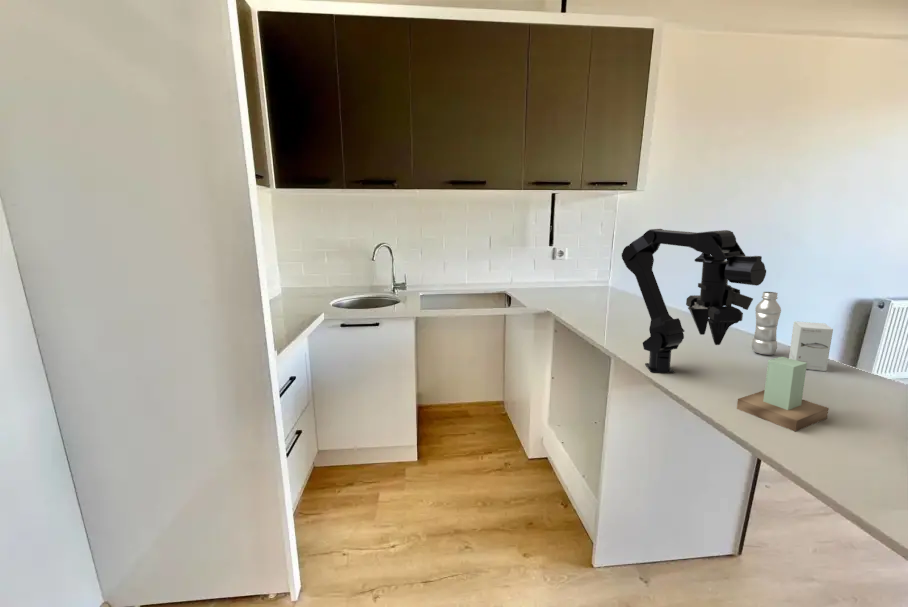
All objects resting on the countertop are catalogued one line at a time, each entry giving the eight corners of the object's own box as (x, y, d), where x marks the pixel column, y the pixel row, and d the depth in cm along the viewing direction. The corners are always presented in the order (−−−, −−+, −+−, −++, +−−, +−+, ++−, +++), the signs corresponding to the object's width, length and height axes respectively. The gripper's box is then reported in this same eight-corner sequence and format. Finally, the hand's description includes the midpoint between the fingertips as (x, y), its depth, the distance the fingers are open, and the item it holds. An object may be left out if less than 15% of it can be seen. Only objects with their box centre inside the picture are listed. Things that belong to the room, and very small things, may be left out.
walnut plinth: (736, 408, 97) (737, 398, 96) (767, 398, 101) (769, 388, 101) (795, 431, 86) (796, 420, 85) (827, 418, 91) (828, 407, 90)
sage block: (763, 401, 94) (768, 360, 92) (776, 396, 96) (781, 356, 94) (787, 410, 90) (793, 367, 88) (801, 405, 92) (807, 362, 90)
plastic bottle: (765, 358, 128) (773, 295, 124) (745, 351, 134) (751, 291, 130) (781, 355, 130) (789, 293, 125) (760, 349, 136) (767, 290, 132)
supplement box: (794, 368, 119) (799, 326, 116) (788, 360, 125) (793, 320, 123) (827, 372, 115) (833, 329, 113) (819, 363, 122) (825, 322, 119)
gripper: (771, 286, 94) (763, 351, 97) (731, 274, 112) (726, 330, 115) (717, 286, 96) (712, 350, 99) (687, 275, 114) (683, 329, 117)
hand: (709, 339), depth 107 cm, fingers open, 9 cm apart
